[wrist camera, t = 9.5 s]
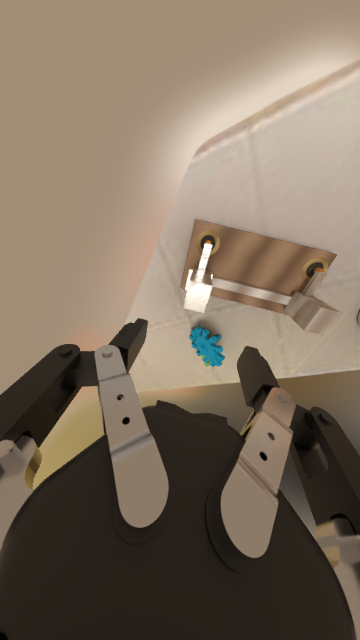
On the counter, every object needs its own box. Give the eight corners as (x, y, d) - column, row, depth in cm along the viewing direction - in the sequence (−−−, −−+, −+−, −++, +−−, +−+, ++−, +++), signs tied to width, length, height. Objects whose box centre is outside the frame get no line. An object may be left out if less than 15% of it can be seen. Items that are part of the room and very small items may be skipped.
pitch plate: (330, 253, 27) (388, 262, 19) (291, 313, 33) (321, 340, 25) (195, 219, 27) (193, 214, 19) (181, 285, 33) (174, 303, 25)
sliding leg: (220, 243, 26) (229, 249, 18) (205, 290, 31) (207, 314, 22) (197, 237, 26) (195, 240, 18) (186, 285, 31) (179, 307, 22)
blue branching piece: (186, 322, 35) (221, 345, 29) (204, 311, 38) (240, 330, 32) (189, 354, 42) (218, 379, 35) (204, 343, 45) (234, 364, 38)
